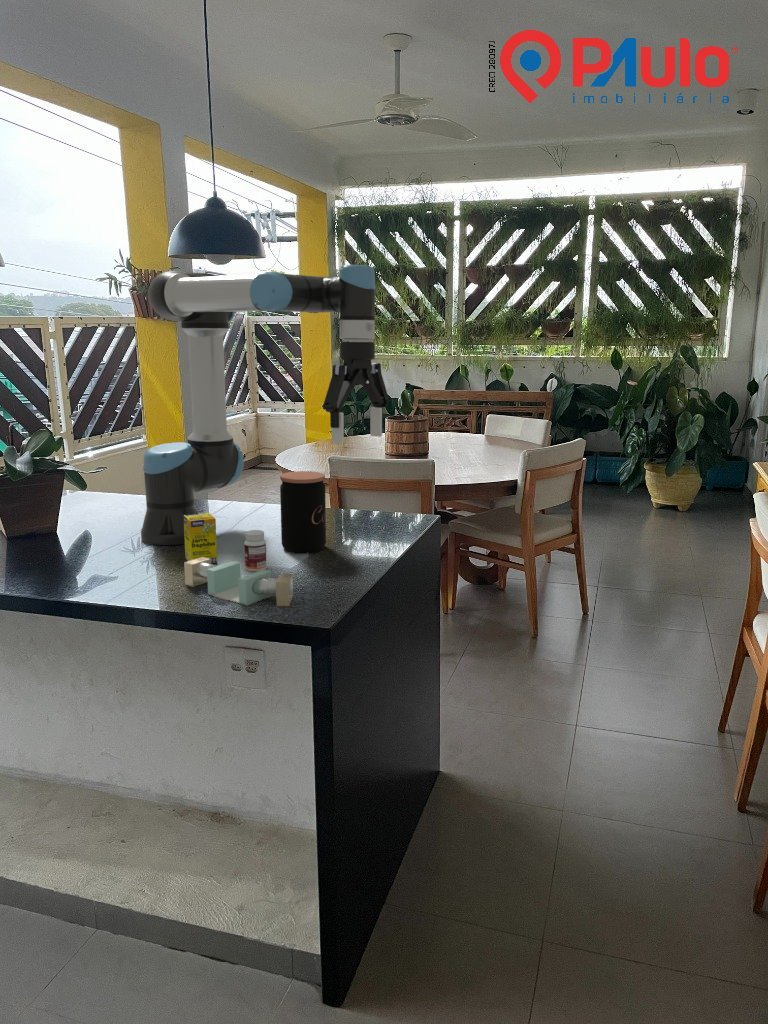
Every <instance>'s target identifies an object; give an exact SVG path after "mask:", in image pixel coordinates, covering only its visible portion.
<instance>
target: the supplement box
mask: <svg viewBox="0 0 768 1024" xmlns="http://www.w3.org/2000/svg"><path fill="white" fill-rule="evenodd" d="M216 523H217V521H216V517H215V516H213V515H212V514H211V512H206V513H197V514H195V515H184V537H185V544H184V553H185V554H184V556H185V562H187V561H189V560H191V559H197V558H201V557H206V558H209V559H211V564H213V565H216V566H218V548H217V547H218V546H217V544H218V543H217V524H216Z"/></svg>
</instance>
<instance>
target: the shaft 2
mask: <svg viewBox="0 0 768 1024" xmlns="http://www.w3.org/2000/svg"><path fill="white" fill-rule="evenodd" d="M252 591H253V593H254V594H271V595H272V596H273V595H275V596H276V607H290V605H291V603H292V600H293V597H294V579H293V573H280V574H279V576H278V577H272V578H258V579H257V580H255V582H254V583H253V585H252Z"/></svg>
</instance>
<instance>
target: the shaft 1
mask: <svg viewBox="0 0 768 1024" xmlns="http://www.w3.org/2000/svg"><path fill="white" fill-rule="evenodd" d="M183 565H184V566H183V567H184V581H185V582H184V584H185V585H186V586H189V587H192V588H194V587H197V586H200V585H203V584H206V583H208V581H207V569H210V568H213V567H216V566H217V565H213V564H211V559H209V558H206V557H201V558H197V559H191V560H189V561H187V562H186V561H184V563H183Z"/></svg>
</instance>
